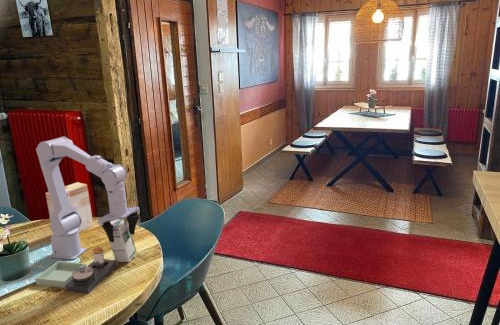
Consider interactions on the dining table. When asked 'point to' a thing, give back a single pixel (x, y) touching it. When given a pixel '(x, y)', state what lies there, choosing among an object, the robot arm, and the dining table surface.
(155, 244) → the dining table surface
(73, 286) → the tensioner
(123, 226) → the syrup box
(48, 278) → the tray
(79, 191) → the coffeecake box
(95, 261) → the glass vial
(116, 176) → the robot arm
